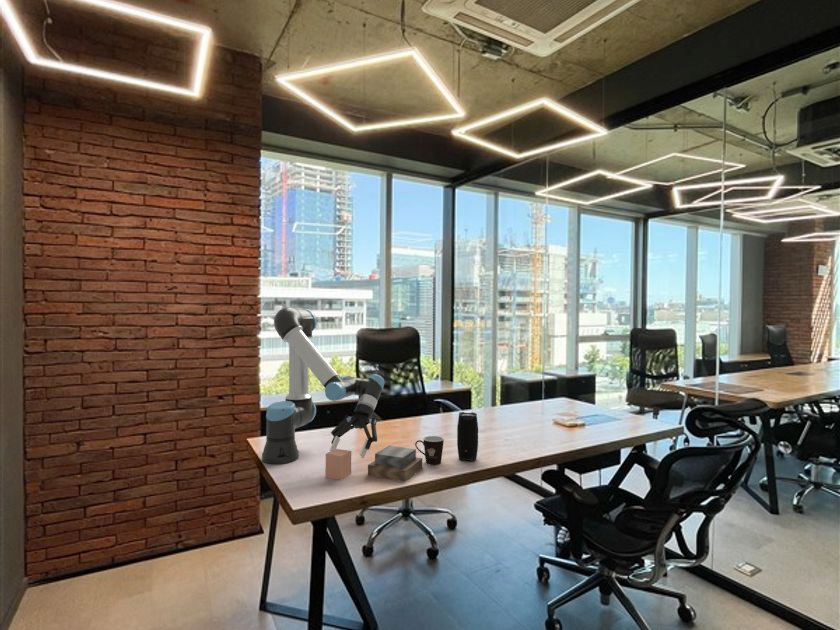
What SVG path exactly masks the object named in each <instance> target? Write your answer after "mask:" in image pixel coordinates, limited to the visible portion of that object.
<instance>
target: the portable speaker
mask: <svg viewBox="0 0 840 630" xmlns="http://www.w3.org/2000/svg"><path fill="white" fill-rule="evenodd" d="M457 418H458V420H457V426H456V428H457V429H456V430H457V431H456V434H457V436H456V439H457V442H456V444H457V455H458V460H459V461H463V460H468V461H469V462H475V461H477V457H478V451H479V450H478V449H479V447H478V446H479V423H478V414H477V413H476V412H464V411H462V412H459V413H458V417H457Z"/></svg>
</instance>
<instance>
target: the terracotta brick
mask: <svg viewBox="0 0 840 630" xmlns="http://www.w3.org/2000/svg"><path fill="white" fill-rule="evenodd" d="M350 474H351V475H352V450H346V449H341V448H336V449H335V450H332V451H329V452H326V453H325V478H326V477H328V478H327V479H332V478H334V479H333V480H338V479H340V480H339V481H342V480H344V479H345V477H346V478H347V477H349V476H350ZM348 475H349V476H348ZM343 478H344V479H343ZM341 479H342V480H341Z"/></svg>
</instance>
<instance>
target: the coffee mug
mask: <svg viewBox="0 0 840 630" xmlns="http://www.w3.org/2000/svg"><path fill="white" fill-rule="evenodd" d="M418 443H422V445H423V448H424V452H423V451H422V450H421V449H420V448H419V447H418V446H417V444H418ZM444 443H445V438H444V437H442V436H438V435H428V436H424V437H423V439H422V440H416V441H415V443H414V444H415V446H414V447H415V449H416V450H418V451H419V452H420V453H421V454H422V455H424V458H425V464H427V465H429V464H430V465H429V466H437V465H441V464H442V459H443V451H444V450H443V449H444Z"/></svg>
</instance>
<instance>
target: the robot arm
mask: <svg viewBox="0 0 840 630" xmlns="http://www.w3.org/2000/svg"><path fill="white" fill-rule="evenodd" d="M317 322H318V321H317V317H316V315H315V313H314V312H313V311H312V310H311V309H308V308H305V307H283V308H281V309H279V310H278V311H277V312H276V314H275V316H274V318H273V325H274V328H275V330H276V333H277V334H278V335H279V337H280V339H282V341H283V342H285V343H288V344H289V345H288V347H289V348H288V350H289V351H288V356H289V357H288V394H287V395H286V396H285V400H281V401H276V402H273V403H271V404H269V405H268V406H267V408H266V415H265V418H266V423H265V424H266V427H265V428H266V429H265V430H266V432H265V433H266V440H265V445H264V448H263V451H262V455H261V461H262V462H263V463H265V464H269V465H271V464H272V465H279V464H287V462H288V463H292V462H295V461H297V460H298V459H299V457H300V453H299V452H300V450H299V449H298V445H297V442H296V437H295V436H296V429H299V428H300V427H304V426H306V425H308V424H309V423H311V422H312V421H313V420H314V419H315V416H316V414H317V407H316V403H314V401H313V398H312V397H313V396H312V395H311V394H310V393H309V371H311V373H312V374H313V375H314V376H315V377H316V378H317V380H318V381H319V382H320V384H321V385H322V386H323V387H324V393H325V397H326V398H327V400H330V401H333V402H335V401H340V400H343V399H345V398H348V397H350V396H358V397H359V399H358V401H357V404H356V406H355V408H354V412H353V415H352V416H349V415H348V414H346V415H345V416H344V419H342V420H341V421H340V422H339V423H338V424H337V425H336V426H335V428H334V429H332V430H331V432H330V434H331V435H332V436H333V438H332V439H331V446H330V448H329V452H330V451H332V450H335V449H338V445H339V443H340V440H341V439H340V438H341V437H342V436H344V435H345V434H347V432H349V431H351V430H354V429H360V430H362V429H363V431H364V433H365V435H366V438H367V439H365V440H364V442H363V445H362V448H361V450H360V452H359V456H360V458H362V459H364V458H365V456H366V453H367V451H369V450H370V448H371V445H372V443H374V442H375V443H377V442H378V434H377V426H376V425H377V420H376V418H375V417H373V414H374V411H375V409H376V407H377V404H378V401H379V399H380V396H381V394H382V393H383V390H384V386H385V380H384V377H382V376H381V375H380V374H376V373H374V374H373V373H372V374H369V376H368V378H362V377H361V378H360V377H355V376H351V375H350V376H349V375H342V376H340V375H339V374H338V373H337V372H336V370H335V369H334V368H333V367H332V365H331V364H330V363H329V362H328V361H327V359H326V358H325V357H324V356H323V354H322V353H321V352H320V351H319V349H318V348H317V347H316V346H315V345H314V343H313V342H312V341H311V339H312V338H313V331H314V330H315V329H316V327H317ZM369 424H370V428H371V433H370V430H369V428H368V426H367V425H369ZM296 459H297V460H296ZM294 460H295V461H294ZM291 461H292V462H291Z"/></svg>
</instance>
